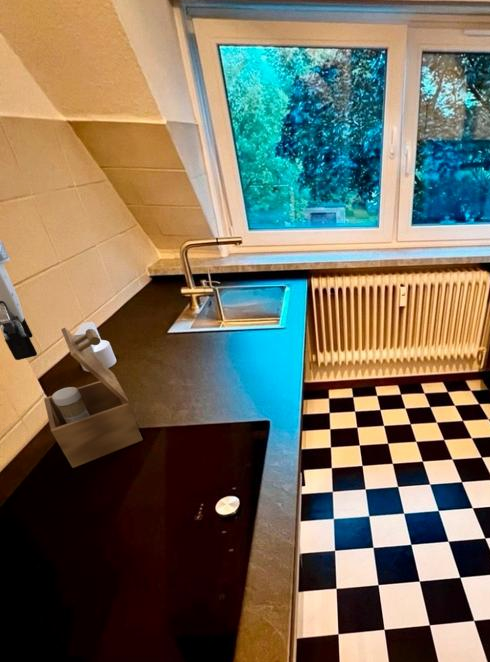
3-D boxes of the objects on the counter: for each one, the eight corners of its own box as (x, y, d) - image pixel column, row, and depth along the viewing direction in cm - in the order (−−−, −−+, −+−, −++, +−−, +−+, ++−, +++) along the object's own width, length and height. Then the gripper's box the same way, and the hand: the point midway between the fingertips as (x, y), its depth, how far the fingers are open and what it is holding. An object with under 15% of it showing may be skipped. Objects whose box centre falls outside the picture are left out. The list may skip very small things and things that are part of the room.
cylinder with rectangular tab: (87, 359, 120) (71, 324, 114) (119, 355, 122) (105, 320, 116) (78, 373, 113) (61, 337, 107) (113, 369, 115) (97, 332, 109)
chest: (74, 471, 80) (51, 431, 74) (64, 435, 90) (43, 397, 84) (144, 443, 87) (128, 404, 82) (128, 413, 97) (113, 376, 91)
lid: (71, 355, 71) (96, 339, 73) (60, 329, 81) (83, 315, 82) (125, 404, 81) (146, 389, 83) (110, 376, 91) (130, 363, 92)
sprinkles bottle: (99, 432, 89) (75, 383, 82) (103, 442, 87) (79, 392, 79) (76, 440, 87) (50, 391, 80) (79, 451, 84) (52, 401, 77)
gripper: (-51, 247, 67) (-2, 337, 76) (-58, 270, 55) (0, 372, 65) (4, 241, 71) (44, 327, 80) (8, 261, 60) (54, 359, 69)
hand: (24, 347), depth 72 cm, fingers open, 9 cm apart
